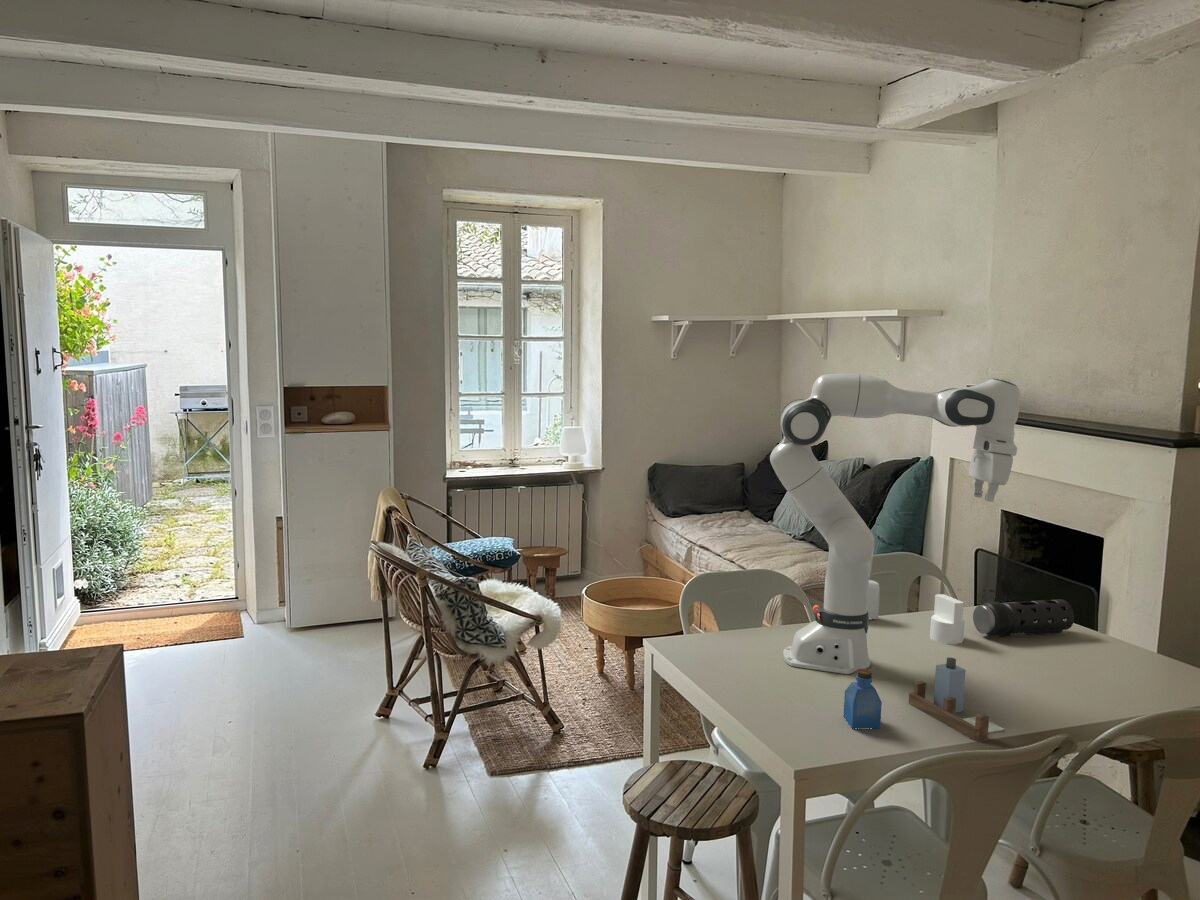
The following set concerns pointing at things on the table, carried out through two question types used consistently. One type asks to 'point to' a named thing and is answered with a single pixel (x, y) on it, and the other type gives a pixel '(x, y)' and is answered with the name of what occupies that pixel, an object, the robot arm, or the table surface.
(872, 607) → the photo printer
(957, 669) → the blue block with peg
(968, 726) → the comb rack
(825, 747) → the table surface
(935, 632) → the base with upright slab
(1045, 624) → the muzzle brake
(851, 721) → the perfume bottle
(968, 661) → the table surface
